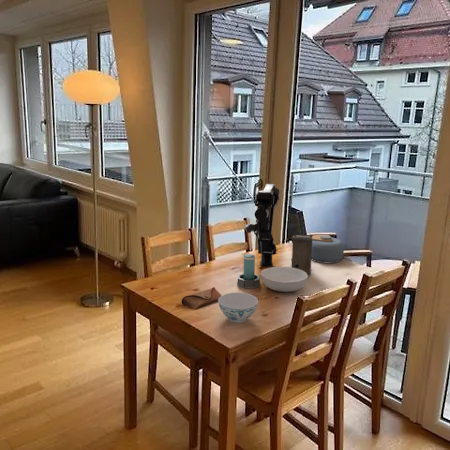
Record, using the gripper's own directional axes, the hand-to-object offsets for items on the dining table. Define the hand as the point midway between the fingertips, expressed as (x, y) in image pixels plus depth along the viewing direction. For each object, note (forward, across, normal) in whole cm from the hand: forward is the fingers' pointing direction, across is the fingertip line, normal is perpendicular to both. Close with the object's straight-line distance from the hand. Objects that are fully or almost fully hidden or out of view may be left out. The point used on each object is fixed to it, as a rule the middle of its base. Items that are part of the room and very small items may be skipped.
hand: (261, 250), depth 215 cm
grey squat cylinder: (+9, -27, +40) cm, 49 cm away
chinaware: (+17, +45, -15) cm, 50 cm away
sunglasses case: (+17, +28, -27) cm, 43 cm away
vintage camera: (+11, -7, +22) cm, 25 cm away
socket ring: (+14, +10, -6) cm, 18 cm away
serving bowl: (+14, +15, +9) cm, 22 cm away
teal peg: (+14, +10, -6) cm, 18 cm away
